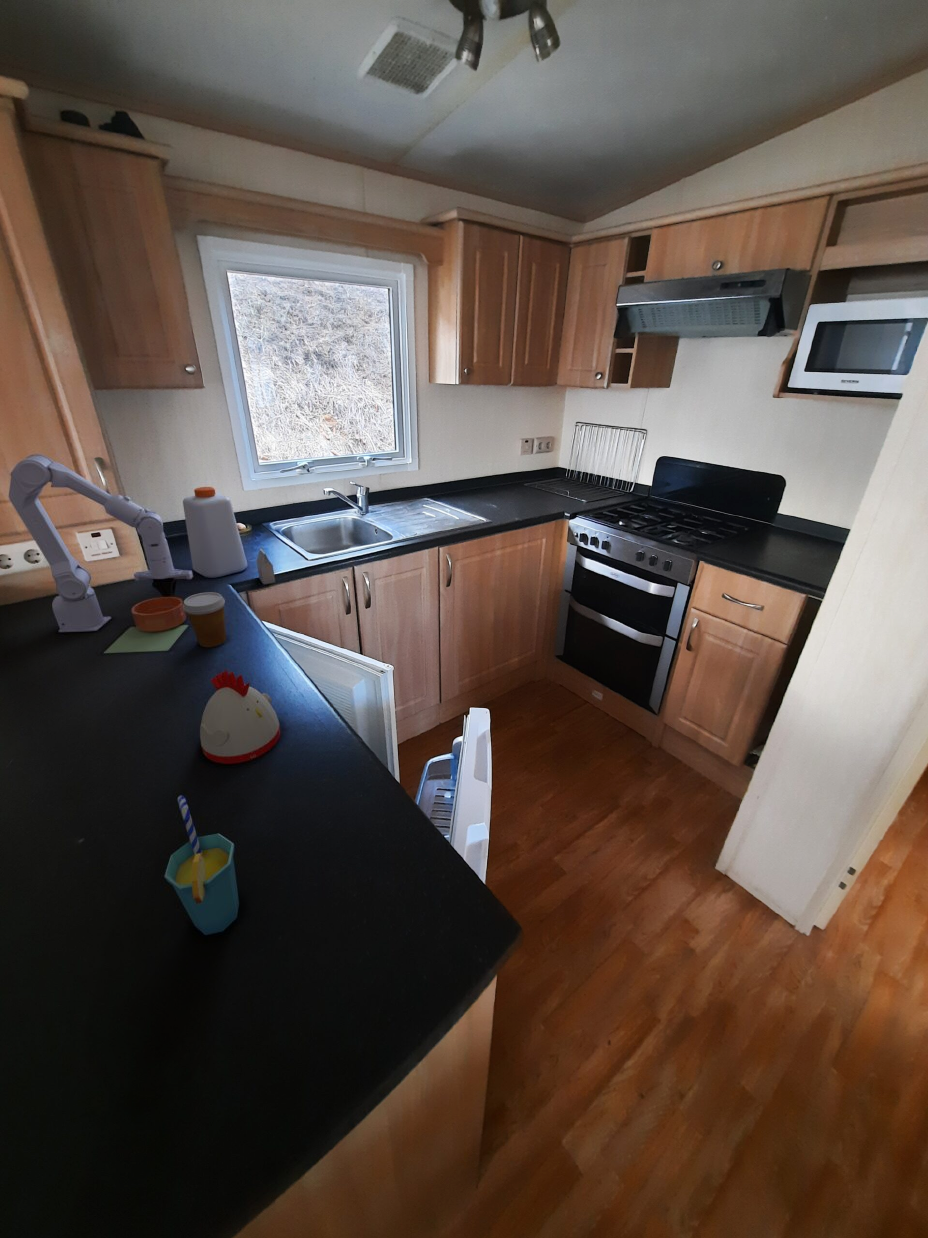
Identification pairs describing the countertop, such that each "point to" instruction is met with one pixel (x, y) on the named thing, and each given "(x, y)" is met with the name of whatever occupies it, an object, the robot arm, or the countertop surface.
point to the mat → (146, 640)
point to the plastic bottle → (213, 534)
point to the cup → (205, 878)
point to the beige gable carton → (265, 568)
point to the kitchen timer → (237, 722)
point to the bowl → (159, 614)
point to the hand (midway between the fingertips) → (170, 602)
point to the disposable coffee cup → (207, 617)
